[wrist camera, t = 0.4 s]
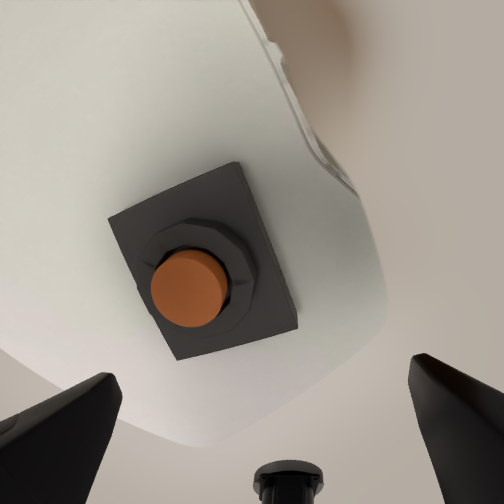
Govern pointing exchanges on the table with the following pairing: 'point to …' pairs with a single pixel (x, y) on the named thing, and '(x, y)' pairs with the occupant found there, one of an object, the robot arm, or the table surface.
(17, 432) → the robot arm
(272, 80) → the table surface
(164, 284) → the power button
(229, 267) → the orange push button base
